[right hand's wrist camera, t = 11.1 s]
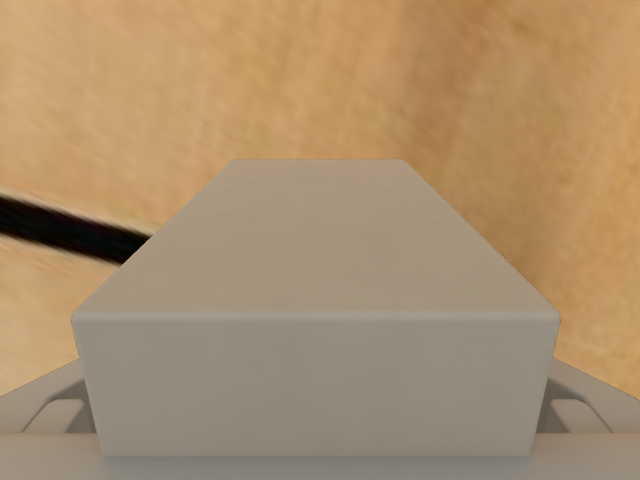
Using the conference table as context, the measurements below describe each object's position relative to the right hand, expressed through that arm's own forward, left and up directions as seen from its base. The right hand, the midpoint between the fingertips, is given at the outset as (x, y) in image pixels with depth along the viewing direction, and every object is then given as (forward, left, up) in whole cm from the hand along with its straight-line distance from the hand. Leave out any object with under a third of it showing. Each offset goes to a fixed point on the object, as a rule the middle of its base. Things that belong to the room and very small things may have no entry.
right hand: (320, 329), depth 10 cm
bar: (+8, -2, -3) cm, 9 cm away
